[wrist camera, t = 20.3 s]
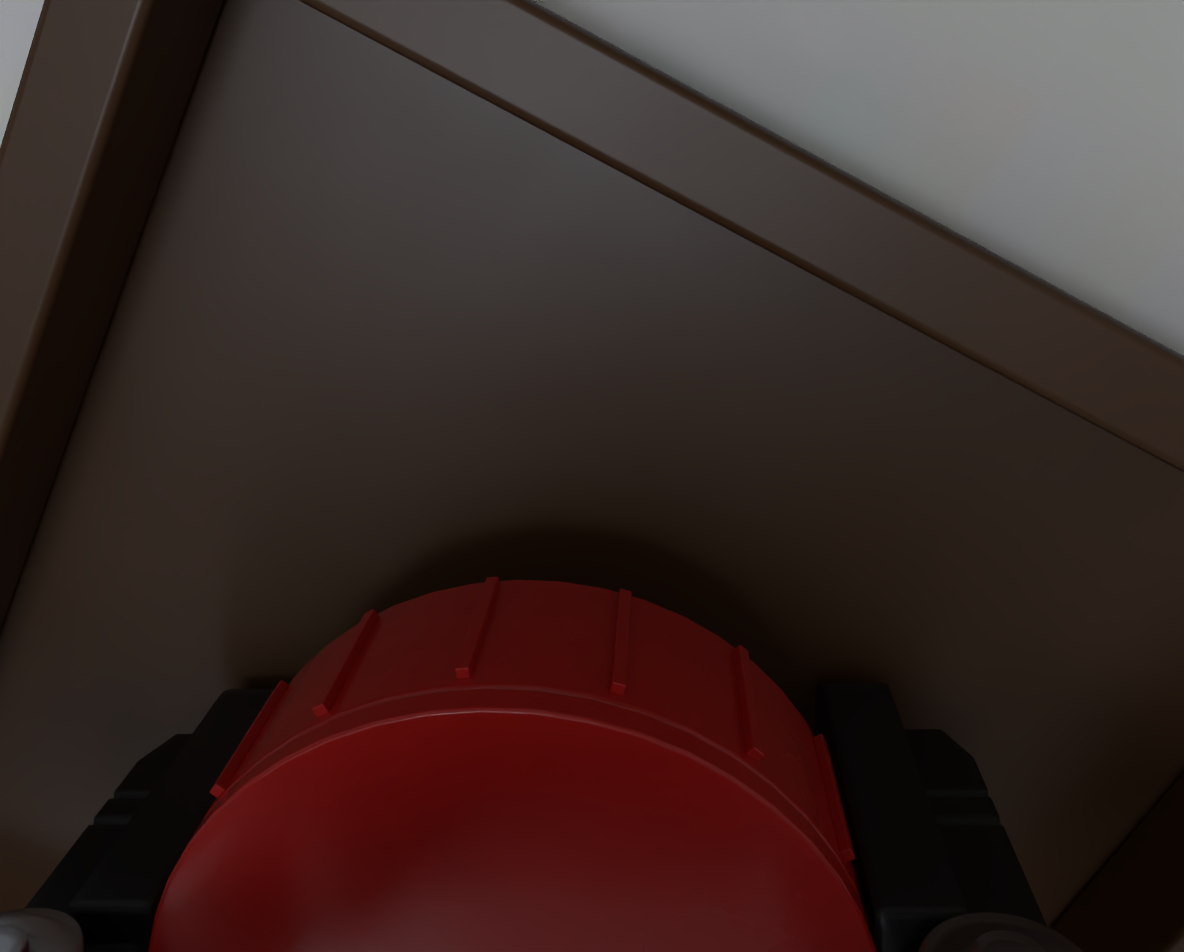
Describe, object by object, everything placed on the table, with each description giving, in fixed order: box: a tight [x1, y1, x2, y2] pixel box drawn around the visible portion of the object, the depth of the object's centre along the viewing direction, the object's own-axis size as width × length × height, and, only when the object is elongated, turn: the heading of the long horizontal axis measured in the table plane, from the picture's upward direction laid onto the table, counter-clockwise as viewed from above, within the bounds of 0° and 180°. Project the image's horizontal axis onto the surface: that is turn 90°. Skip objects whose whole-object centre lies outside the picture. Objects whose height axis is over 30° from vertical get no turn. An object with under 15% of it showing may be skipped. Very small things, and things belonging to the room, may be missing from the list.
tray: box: [0, 0, 1184, 952], centre depth 12 cm, size 14×14×2 cm
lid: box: [148, 577, 877, 952], centre depth 10 cm, size 6×6×2 cm
